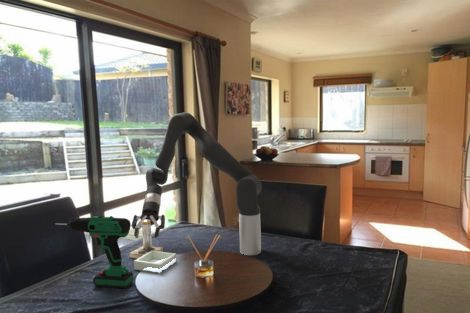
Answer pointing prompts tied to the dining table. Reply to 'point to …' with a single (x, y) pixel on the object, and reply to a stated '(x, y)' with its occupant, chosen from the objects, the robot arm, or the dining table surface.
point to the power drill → (107, 247)
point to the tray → (153, 260)
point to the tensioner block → (143, 252)
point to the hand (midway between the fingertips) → (146, 237)
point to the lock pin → (146, 235)
